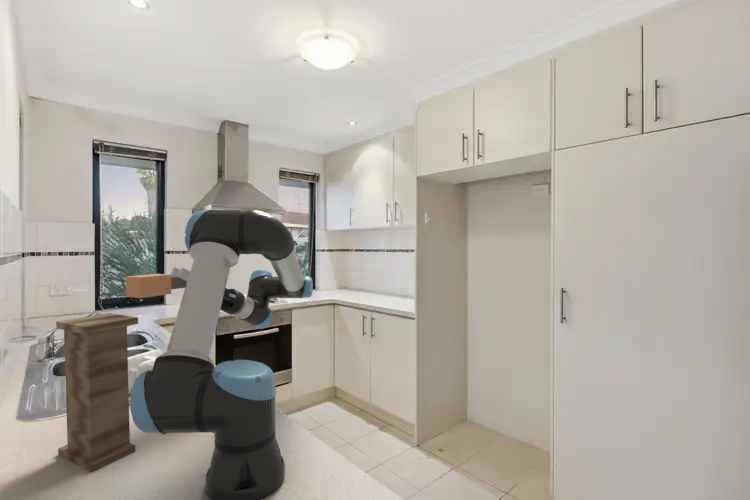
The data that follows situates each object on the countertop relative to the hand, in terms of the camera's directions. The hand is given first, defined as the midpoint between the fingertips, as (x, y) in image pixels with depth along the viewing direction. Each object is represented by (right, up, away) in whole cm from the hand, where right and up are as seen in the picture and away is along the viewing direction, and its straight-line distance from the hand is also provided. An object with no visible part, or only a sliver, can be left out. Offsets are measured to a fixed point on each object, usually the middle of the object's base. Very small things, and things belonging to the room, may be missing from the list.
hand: (176, 272), depth 106 cm
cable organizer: (-17, -39, +19) cm, 47 cm away
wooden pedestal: (-9, -40, -17) cm, 45 cm away
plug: (-1, -5, -2) cm, 6 cm away
